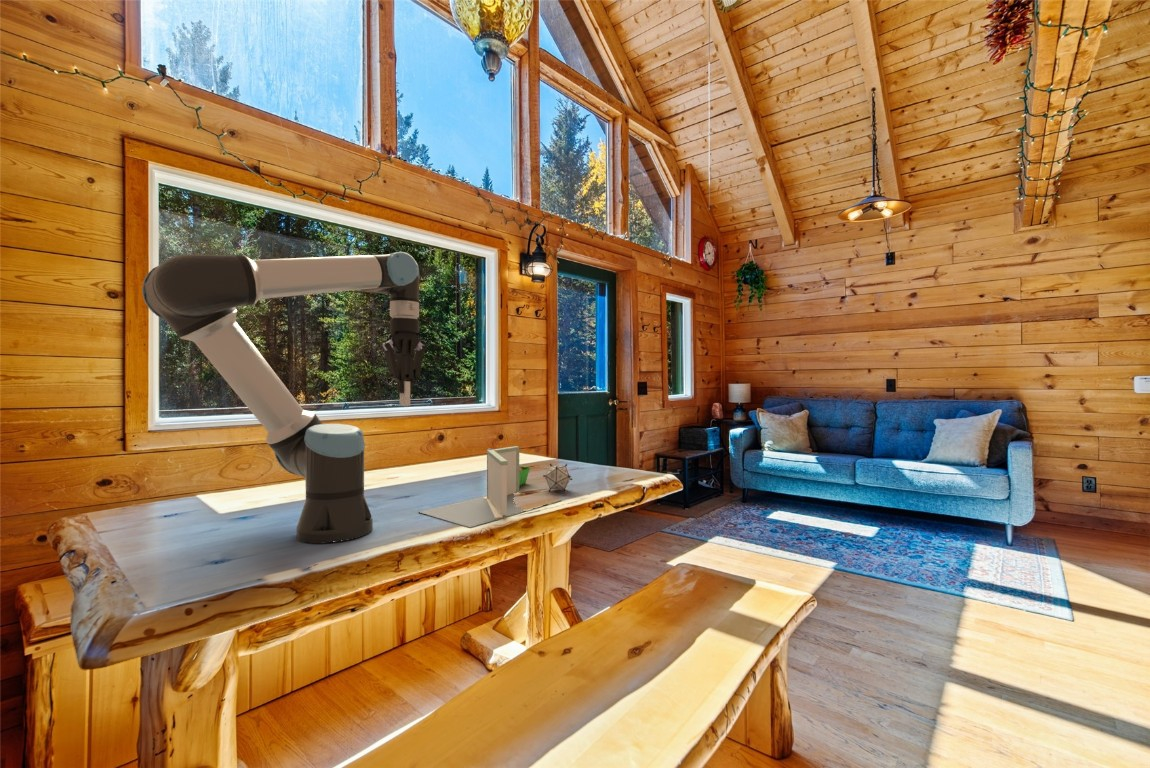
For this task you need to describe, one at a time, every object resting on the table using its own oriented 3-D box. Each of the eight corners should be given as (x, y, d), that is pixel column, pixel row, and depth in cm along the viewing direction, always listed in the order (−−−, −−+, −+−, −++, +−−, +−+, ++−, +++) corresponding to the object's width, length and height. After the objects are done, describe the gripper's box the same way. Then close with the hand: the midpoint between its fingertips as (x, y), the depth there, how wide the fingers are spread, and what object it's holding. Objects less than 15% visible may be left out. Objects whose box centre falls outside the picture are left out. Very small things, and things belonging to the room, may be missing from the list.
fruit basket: (515, 490, 154) (515, 453, 154) (489, 488, 157) (489, 451, 157) (531, 483, 165) (531, 448, 165) (506, 481, 168) (506, 446, 167)
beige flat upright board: (507, 516, 125) (507, 460, 124) (500, 517, 124) (501, 460, 124) (491, 497, 144) (492, 448, 144) (486, 497, 144) (486, 448, 143)
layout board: (470, 528, 116) (470, 526, 116) (418, 512, 129) (418, 511, 129) (561, 501, 141) (561, 499, 141) (510, 490, 154) (510, 489, 154)
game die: (562, 501, 155) (580, 474, 158) (559, 498, 147) (578, 469, 150) (538, 485, 158) (556, 458, 160) (533, 481, 150) (553, 452, 152)
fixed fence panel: (495, 498, 144) (495, 450, 144) (491, 497, 145) (491, 449, 145) (519, 492, 151) (519, 446, 151) (515, 491, 152) (515, 446, 152)
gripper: (390, 315, 131) (390, 407, 131) (433, 319, 141) (433, 404, 142) (374, 317, 136) (375, 405, 136) (417, 321, 146) (417, 403, 146)
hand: (404, 405), depth 139 cm, fingers closed
